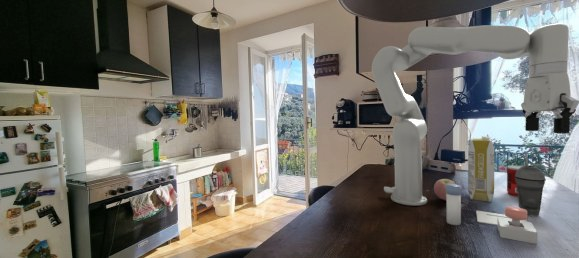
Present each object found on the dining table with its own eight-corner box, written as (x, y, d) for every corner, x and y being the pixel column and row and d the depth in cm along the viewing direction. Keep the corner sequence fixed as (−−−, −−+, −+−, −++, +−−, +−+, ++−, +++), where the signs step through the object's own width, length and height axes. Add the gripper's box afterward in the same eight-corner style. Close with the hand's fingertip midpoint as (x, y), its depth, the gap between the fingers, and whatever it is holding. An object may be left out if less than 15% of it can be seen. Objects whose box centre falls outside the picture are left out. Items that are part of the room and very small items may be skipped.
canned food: (540, 197, 95) (540, 168, 95) (518, 198, 96) (518, 169, 95) (521, 191, 103) (522, 165, 103) (502, 192, 103) (502, 165, 103)
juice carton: (494, 203, 91) (494, 137, 90) (467, 199, 96) (467, 137, 95) (493, 196, 98) (493, 135, 97) (468, 193, 103) (468, 135, 102)
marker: (445, 223, 76) (445, 186, 75) (446, 219, 79) (446, 183, 78) (461, 226, 73) (461, 188, 73) (461, 221, 76) (461, 184, 76)
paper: (477, 222, 76) (477, 220, 76) (476, 211, 84) (476, 210, 84) (532, 231, 69) (532, 229, 69) (524, 218, 77) (524, 217, 77)
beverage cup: (535, 219, 77) (535, 154, 76) (508, 210, 84) (509, 151, 83) (551, 216, 78) (552, 152, 78) (524, 208, 86) (524, 149, 85)
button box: (500, 237, 66) (500, 226, 66) (497, 227, 72) (497, 217, 72) (536, 244, 62) (537, 232, 62) (530, 232, 68) (530, 222, 68)
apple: (431, 200, 96) (431, 179, 96) (437, 195, 101) (437, 176, 101) (455, 205, 90) (455, 183, 90) (460, 199, 96) (460, 179, 95)
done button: (506, 229, 67) (506, 210, 66) (504, 223, 70) (504, 205, 70) (528, 232, 64) (528, 213, 64) (525, 226, 68) (525, 208, 67)
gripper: (510, 76, 80) (509, 130, 80) (560, 66, 62) (557, 134, 63) (537, 75, 78) (535, 129, 79) (595, 64, 61) (592, 134, 62)
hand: (545, 131), depth 71 cm, fingers open, 9 cm apart
